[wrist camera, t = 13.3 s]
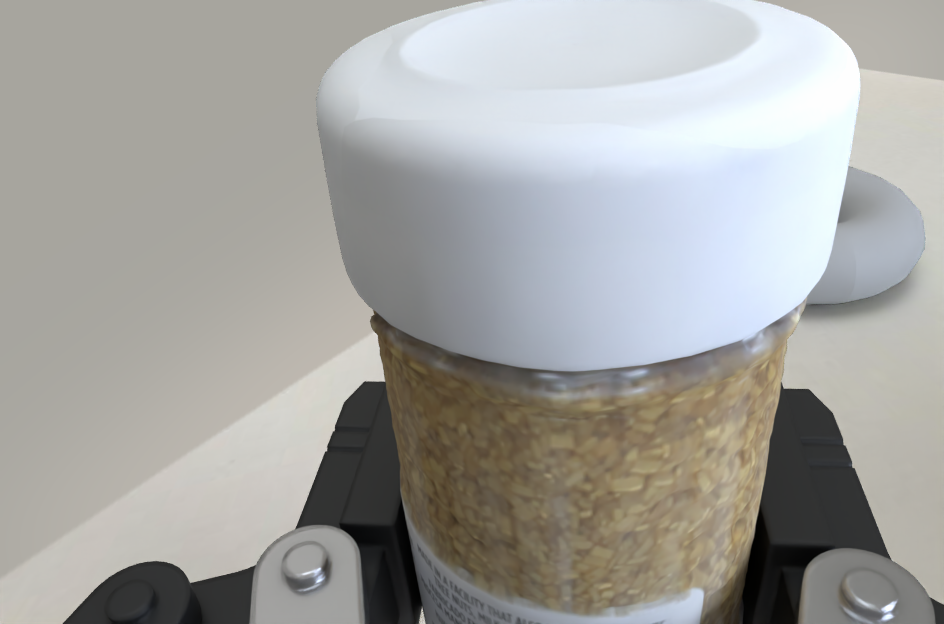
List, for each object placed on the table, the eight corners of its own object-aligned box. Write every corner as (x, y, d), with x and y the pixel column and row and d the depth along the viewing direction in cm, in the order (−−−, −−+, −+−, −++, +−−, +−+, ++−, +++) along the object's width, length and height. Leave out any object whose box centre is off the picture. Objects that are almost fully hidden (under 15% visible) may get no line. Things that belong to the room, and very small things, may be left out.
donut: (802, 194, 41) (642, 238, 38) (814, 133, 39) (647, 174, 36) (967, 282, 33) (781, 346, 30) (993, 211, 31) (797, 273, 28)
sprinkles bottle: (746, 758, 14) (949, -8, 6) (618, 1011, 11) (705, 197, 4) (546, 622, 17) (521, -37, 9) (402, 801, 14) (190, 70, 6)
